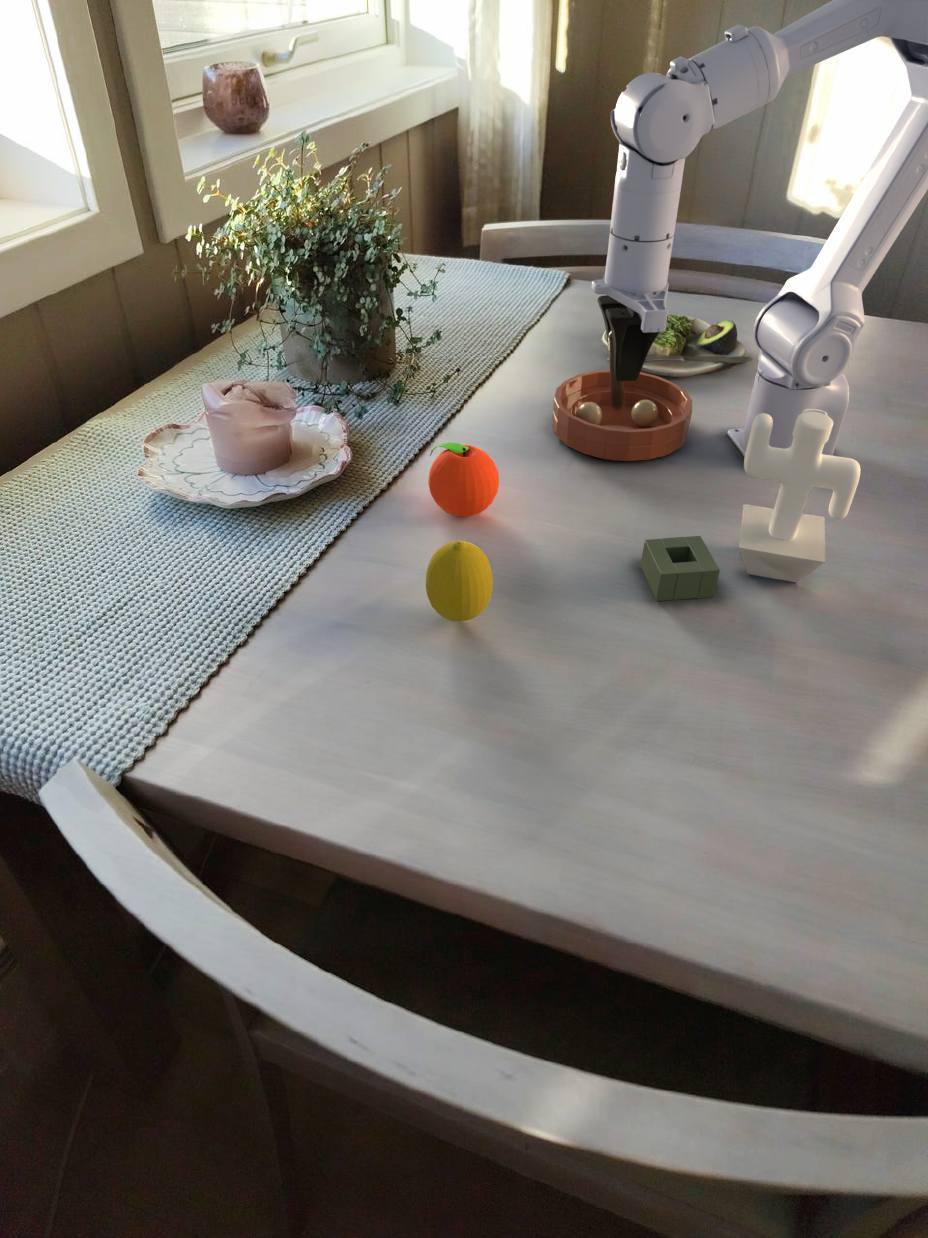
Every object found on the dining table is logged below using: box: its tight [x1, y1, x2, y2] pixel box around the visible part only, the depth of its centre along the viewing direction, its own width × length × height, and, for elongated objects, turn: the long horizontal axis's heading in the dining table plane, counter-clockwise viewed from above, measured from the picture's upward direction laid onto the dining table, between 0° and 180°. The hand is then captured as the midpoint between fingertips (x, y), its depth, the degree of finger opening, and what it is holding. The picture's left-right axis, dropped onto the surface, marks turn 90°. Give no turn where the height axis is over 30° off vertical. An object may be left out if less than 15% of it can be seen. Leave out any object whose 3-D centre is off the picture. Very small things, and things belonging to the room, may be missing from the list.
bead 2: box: [631, 400, 658, 427], centre depth 98 cm, size 3×3×3 cm
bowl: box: [551, 369, 693, 462], centre depth 98 cm, size 15×15×4 cm
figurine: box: [738, 409, 861, 584], centre depth 75 cm, size 7×9×15 cm
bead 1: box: [576, 402, 602, 425], centre depth 98 cm, size 3×3×3 cm
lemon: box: [425, 540, 494, 622], centre depth 71 cm, size 6×6×8 cm
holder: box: [640, 535, 721, 602], centre depth 77 cm, size 5×5×3 cm
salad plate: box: [600, 314, 754, 378], centre depth 113 cm, size 19×18×5 cm
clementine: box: [427, 442, 500, 518], centre depth 85 cm, size 8×7×7 cm
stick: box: [608, 331, 625, 410], centre depth 86 cm, size 1×1×8 cm
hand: (623, 375), depth 87 cm, fingers closed on stick, 1 cm apart
